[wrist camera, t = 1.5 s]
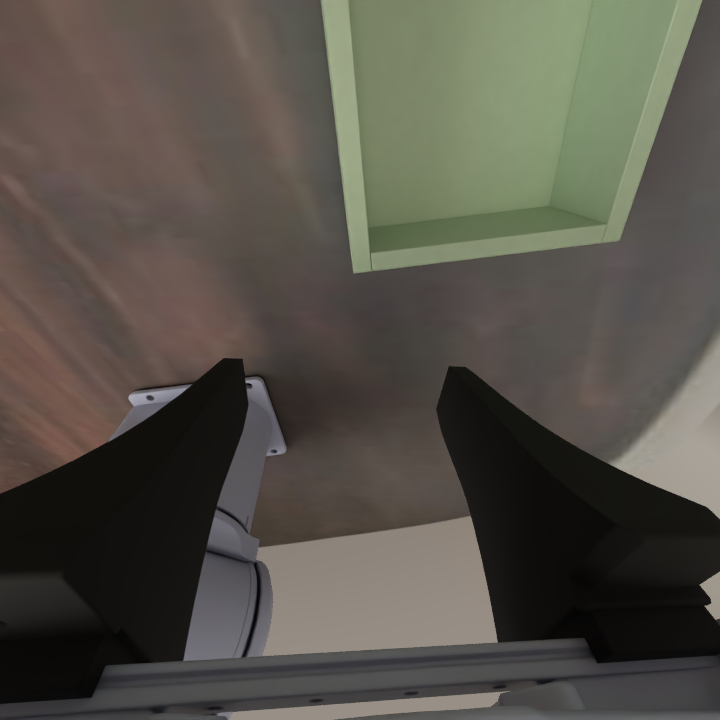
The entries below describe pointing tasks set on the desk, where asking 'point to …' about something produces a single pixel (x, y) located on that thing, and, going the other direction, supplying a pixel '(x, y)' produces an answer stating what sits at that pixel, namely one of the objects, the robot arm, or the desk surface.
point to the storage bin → (495, 120)
